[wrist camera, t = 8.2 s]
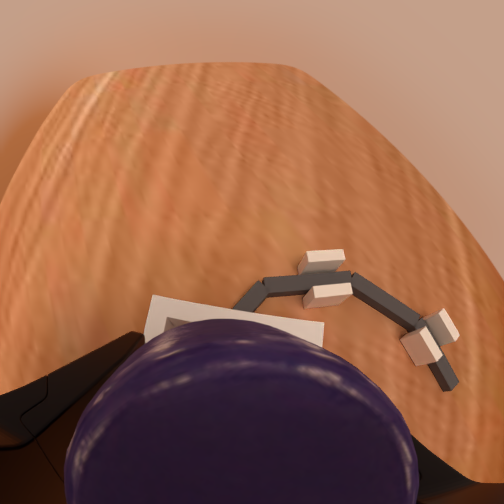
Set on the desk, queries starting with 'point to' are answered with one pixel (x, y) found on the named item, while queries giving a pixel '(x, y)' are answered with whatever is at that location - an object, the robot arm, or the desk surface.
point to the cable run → (360, 290)
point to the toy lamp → (239, 425)
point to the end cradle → (182, 312)
